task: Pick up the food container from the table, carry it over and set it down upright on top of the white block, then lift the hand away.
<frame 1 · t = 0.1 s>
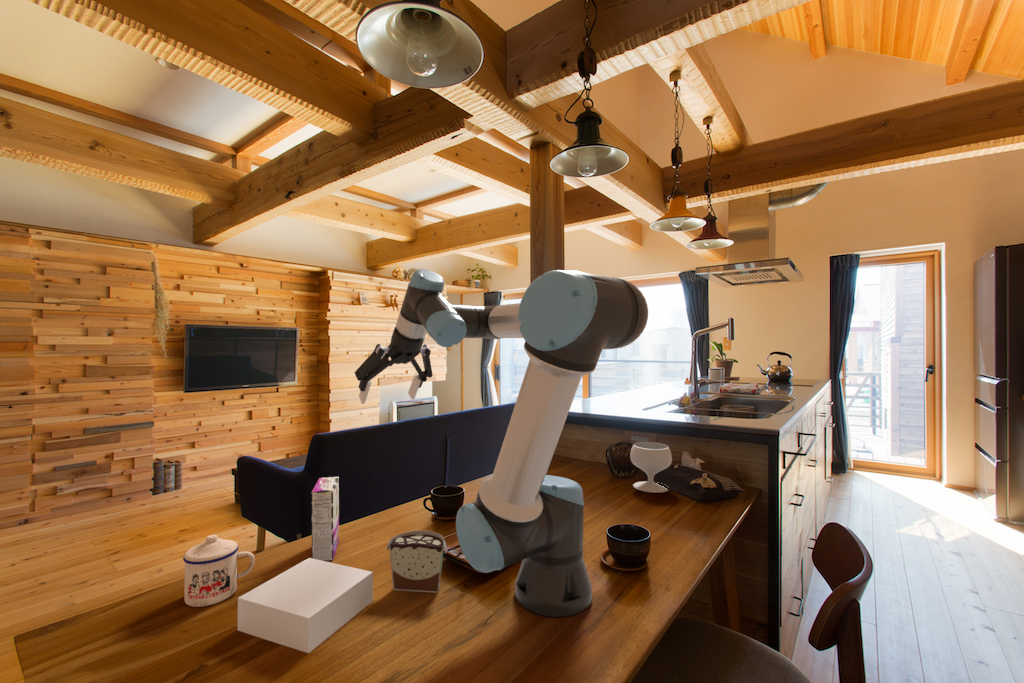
hand: (387, 397, 118), 36 cm above the table, tool tilted 35°, fingers open, 13 cm apart
teacup with lid: (219, 594, 90), on the table
chalice: (650, 488, 158), on the table
food container: (420, 584, 95), on the table
candy bar box: (325, 552, 109), on the table
white block: (308, 616, 83), on the table
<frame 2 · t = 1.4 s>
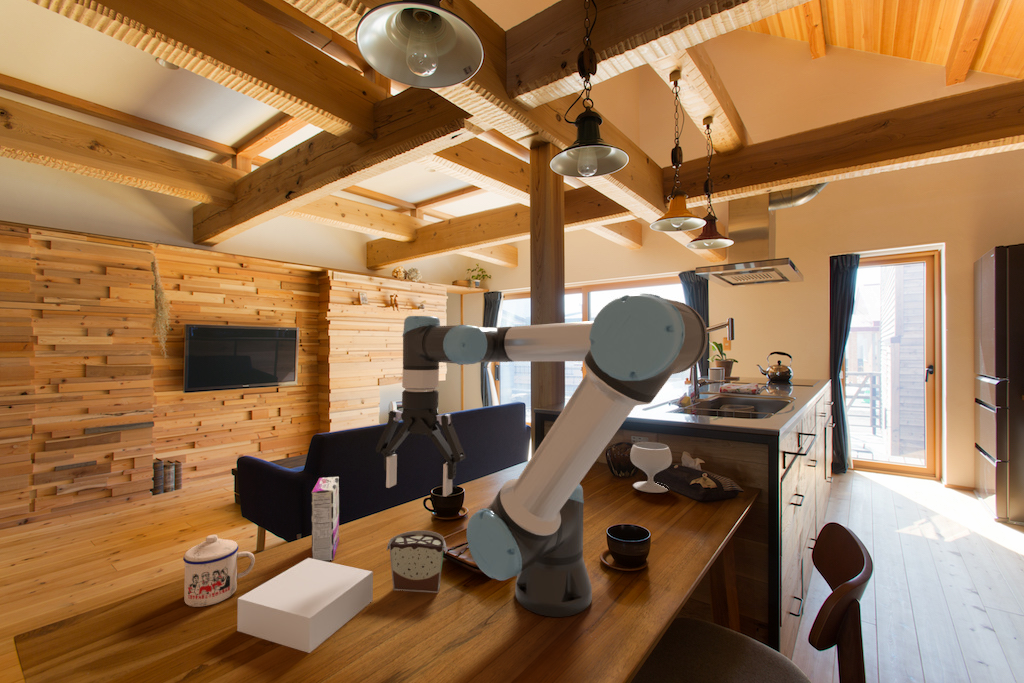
hand: (418, 490, 96), 19 cm above the table, tool pointing down, fingers open, 13 cm apart
nothing on the table moved.
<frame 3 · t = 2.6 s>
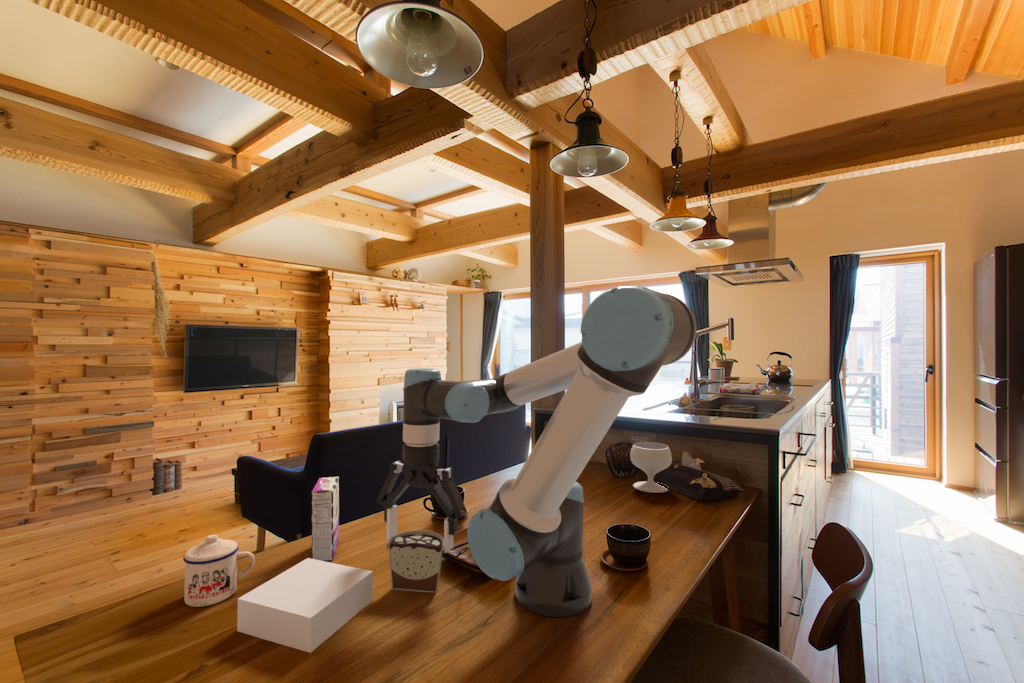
hand: (419, 543, 95), 8 cm above the table, tool pointing down, fingers open, 13 cm apart
food container: (418, 584, 95), on the table, touching gripper
everything else where it was.
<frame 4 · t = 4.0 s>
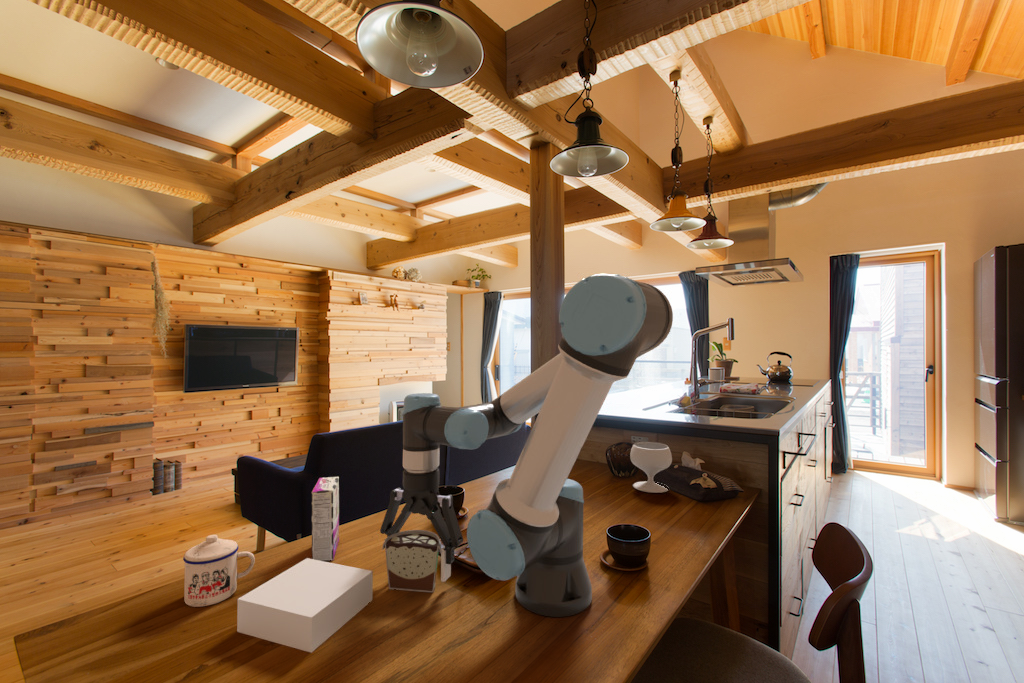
hand: (420, 573, 95), 2 cm above the table, tool pointing down, fingers closed on food container, 11 cm apart
food container: (416, 583, 95), on the table, touching gripper
everything else where it was.
when the fingers open (9 cm above the table, at t = 10.3 s): food container drops 1 cm, point 5 cm above the table.
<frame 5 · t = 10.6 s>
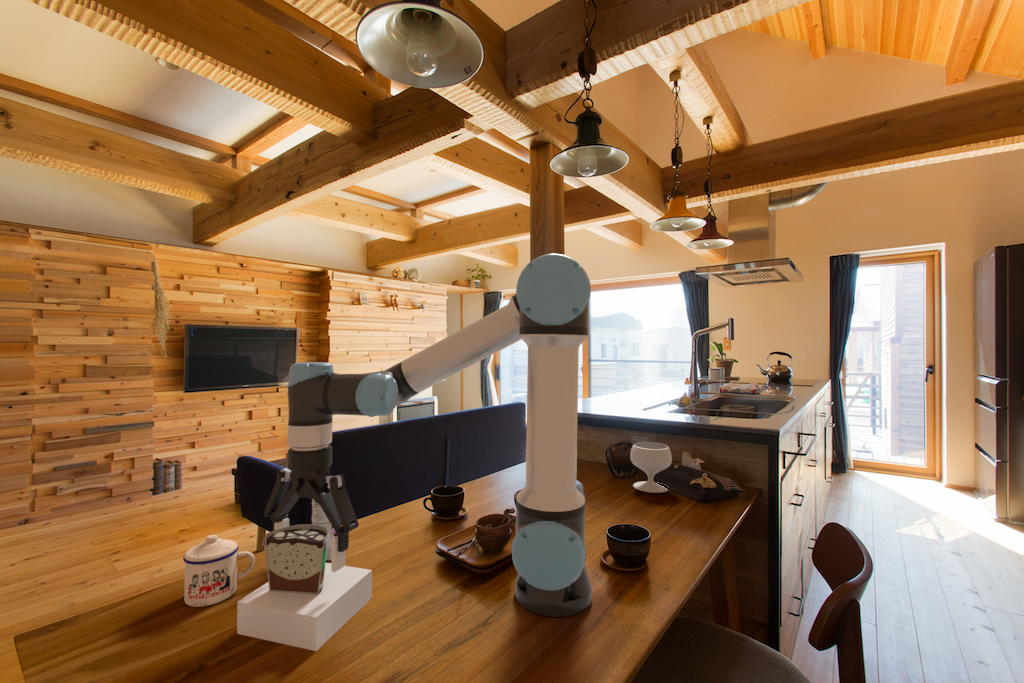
hand: (309, 561, 83), 10 cm above the table, tool pointing down, fingers open, 13 cm apart
food container: (303, 585, 84), point 5 cm above the table
everything else where it was.
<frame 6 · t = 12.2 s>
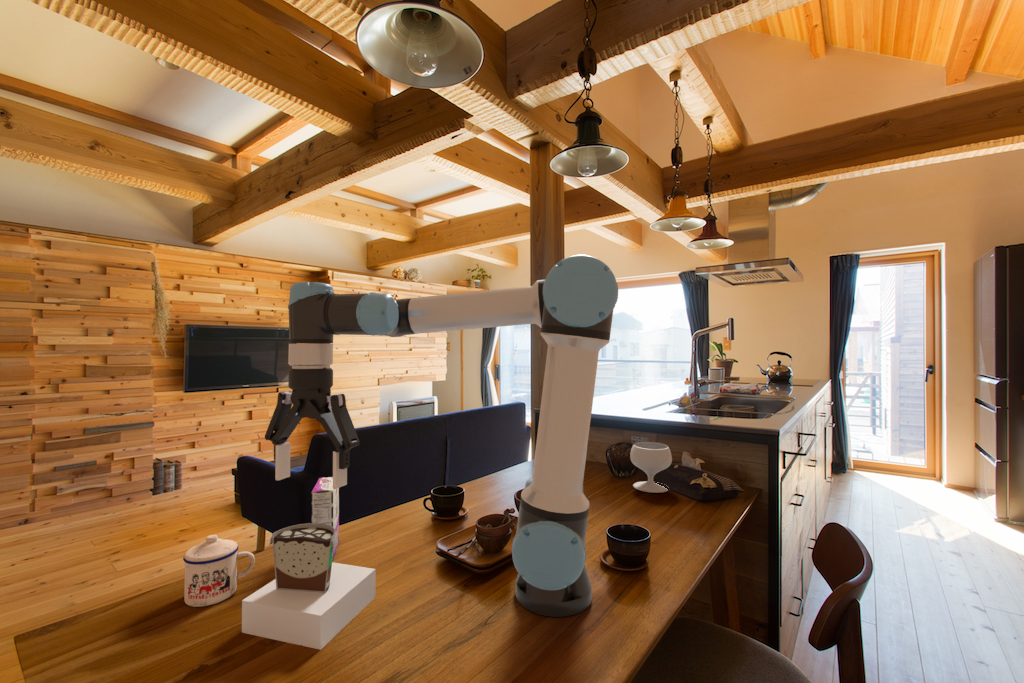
hand: (310, 482, 84), 24 cm above the table, tool pointing down, fingers open, 13 cm apart
food container: (310, 583, 84), point 5 cm above the table, touching white block
white block: (312, 616, 84), on the table, touching food container
everything else where it was.
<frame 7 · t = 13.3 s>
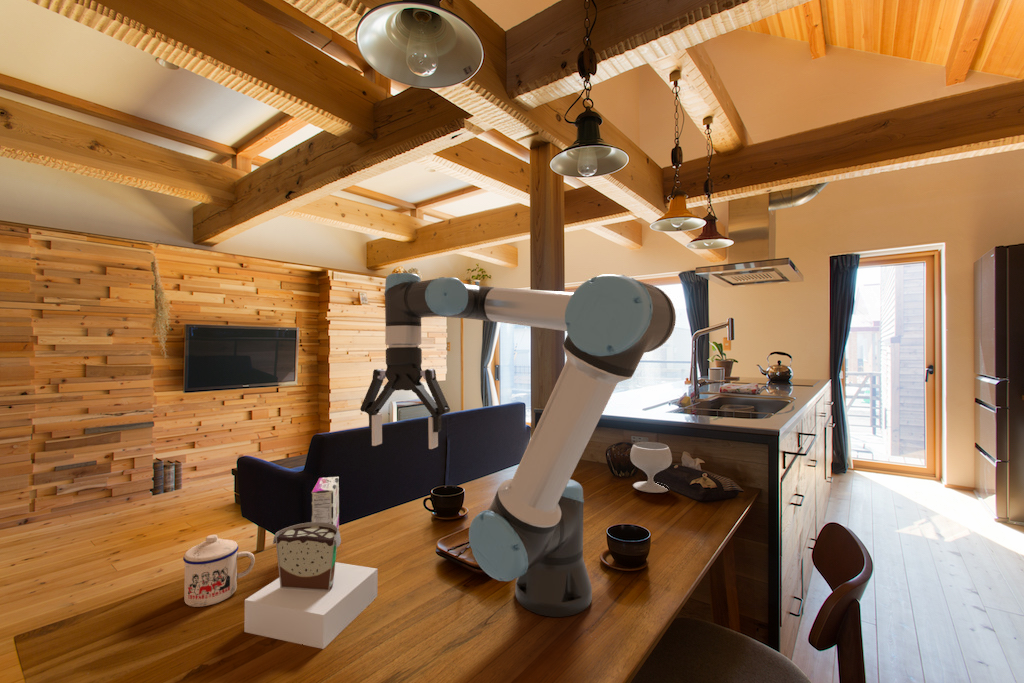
hand: (404, 446, 97), 28 cm above the table, tool pointing down, fingers open, 13 cm apart
nothing on the table moved.
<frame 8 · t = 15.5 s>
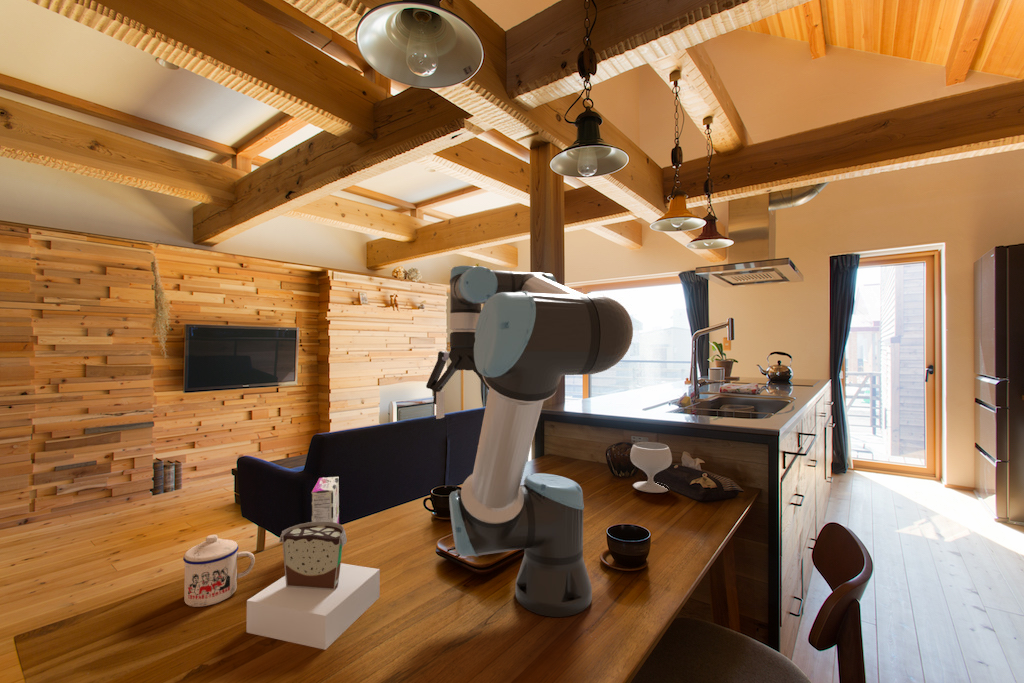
hand: (465, 420, 109), 32 cm above the table, tool pointing down, fingers open, 13 cm apart
food container: (319, 581, 85), point 5 cm above the table
white block: (317, 616, 84), on the table
everything else where it was.
at the end: food container inside the target area on the white block (1.4 cm from its centre), point 5.8 cm above the white block's base; food container tilted 0°; the gripper is holding nothing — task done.
